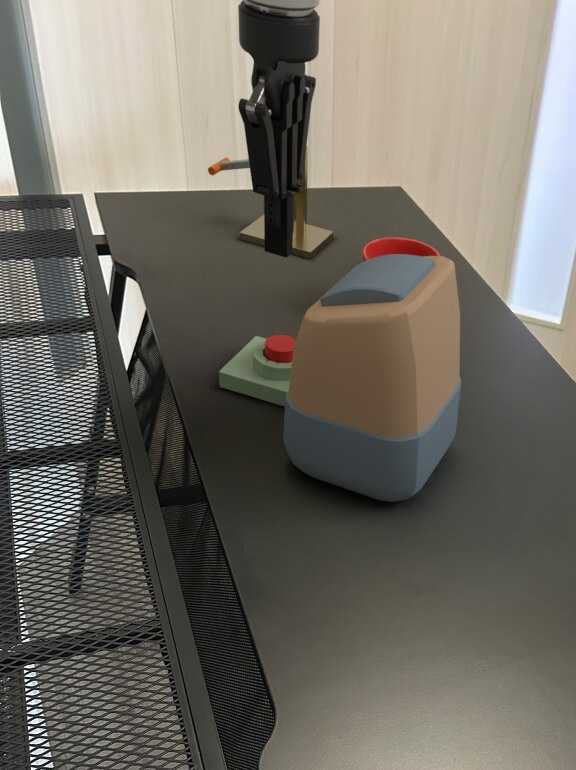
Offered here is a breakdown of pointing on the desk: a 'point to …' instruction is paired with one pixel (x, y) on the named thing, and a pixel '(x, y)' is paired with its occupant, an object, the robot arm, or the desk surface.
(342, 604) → the desk surface
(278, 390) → the button box
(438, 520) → the desk surface
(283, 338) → the button
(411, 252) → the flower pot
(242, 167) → the switch lever
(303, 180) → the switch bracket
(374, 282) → the lidded trash bin
